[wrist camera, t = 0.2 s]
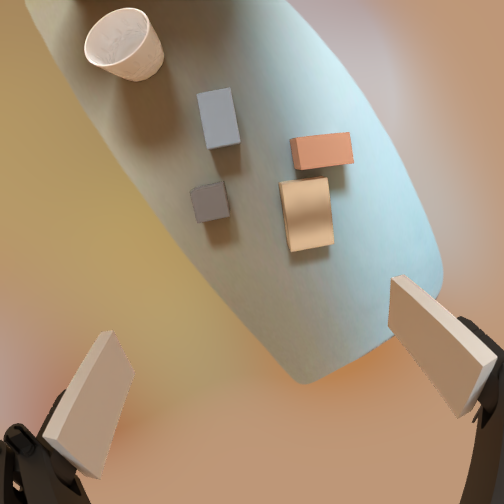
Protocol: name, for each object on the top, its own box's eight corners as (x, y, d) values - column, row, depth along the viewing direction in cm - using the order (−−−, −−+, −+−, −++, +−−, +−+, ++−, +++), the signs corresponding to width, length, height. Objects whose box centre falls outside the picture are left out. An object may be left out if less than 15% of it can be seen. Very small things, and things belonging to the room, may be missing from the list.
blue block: (200, 100, 32) (196, 93, 28) (230, 94, 32) (230, 87, 28) (209, 149, 35) (206, 148, 31) (240, 143, 35) (240, 142, 31)
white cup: (180, 56, 30) (164, 27, 20) (138, 96, 31) (108, 79, 22) (145, 28, 27) (123, -2, 18) (106, 66, 29) (72, 46, 19)
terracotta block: (294, 168, 36) (301, 170, 32) (289, 139, 35) (295, 137, 31) (342, 161, 36) (353, 163, 32) (338, 133, 35) (349, 132, 31)
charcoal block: (194, 187, 36) (189, 191, 32) (223, 181, 36) (222, 184, 32) (200, 216, 37) (197, 223, 34) (229, 210, 37) (229, 216, 34)
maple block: (278, 181, 37) (281, 184, 34) (320, 175, 37) (327, 177, 34) (287, 245, 40) (291, 252, 37) (327, 237, 40) (334, 243, 37)
